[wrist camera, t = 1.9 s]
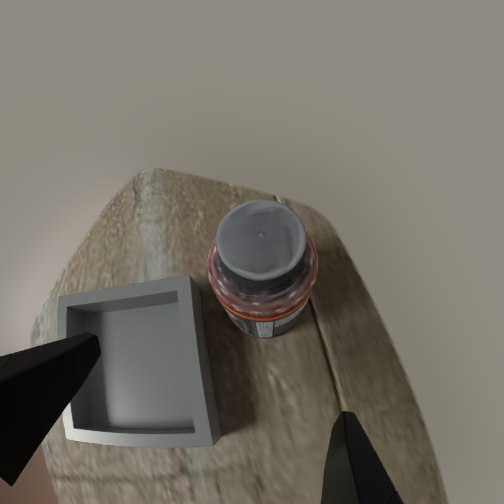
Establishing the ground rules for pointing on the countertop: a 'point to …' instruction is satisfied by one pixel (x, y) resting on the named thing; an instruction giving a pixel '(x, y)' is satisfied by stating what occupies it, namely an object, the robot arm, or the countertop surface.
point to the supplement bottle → (262, 267)
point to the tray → (143, 367)
